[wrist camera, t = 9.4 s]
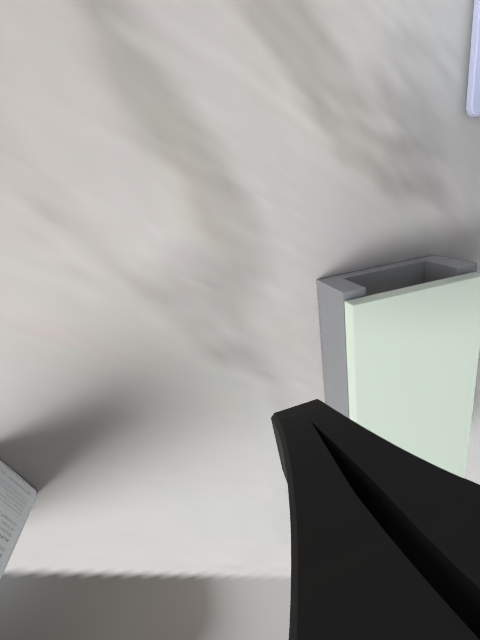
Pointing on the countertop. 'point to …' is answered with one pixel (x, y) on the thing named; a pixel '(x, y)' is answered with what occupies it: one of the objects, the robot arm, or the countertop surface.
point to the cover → (417, 366)
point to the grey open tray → (362, 285)
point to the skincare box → (12, 510)
